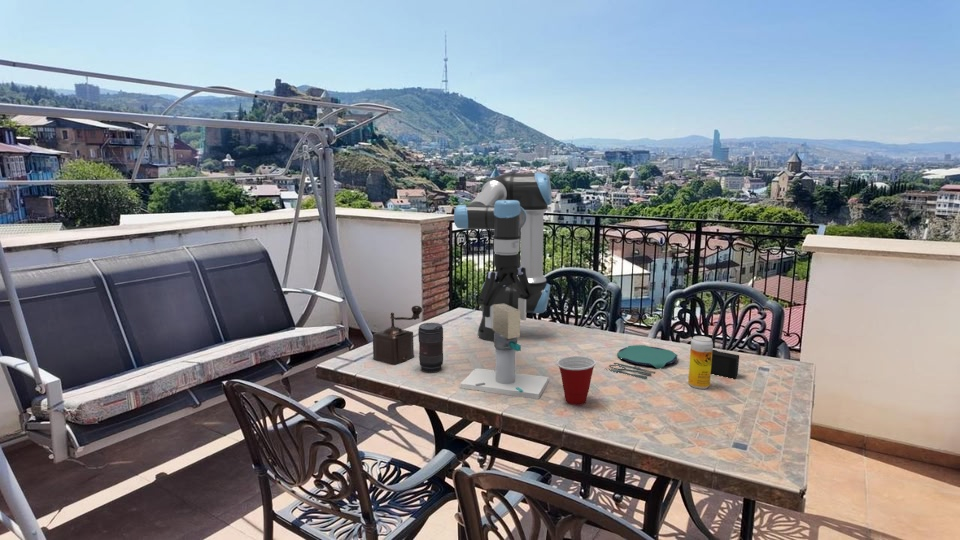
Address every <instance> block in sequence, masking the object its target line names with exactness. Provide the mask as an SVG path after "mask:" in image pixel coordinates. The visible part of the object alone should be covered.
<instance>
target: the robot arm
mask: <svg viewBox="0 0 960 540" xmlns="http://www.w3.org/2000/svg"><path fill="white" fill-rule="evenodd" d="M550 179H551V178H550V177H549V175H548V174H547V173H541V172H526V173H525V172H523V173H522V172H521V173H519V172H518V173H517V172H516V173H515V172H514V173H513V172H510V173H509V172H508V173H503V174H500V175H497V176H495V177H493V178H491V179H489V180H488V181H487V182H485V183H484V184H483V186H482V188H481V191H480V193H479V194H477V196H476V197H475V198H474V199H473V200H472V201H471V202H470V203H469V204H458V205H457V206H455V208H454V213H453V219H454V220H453V222H454V225H455V226H456V228H457V229H463V230H493V231H494V232H493V252H495V253H494V254H493V265H494V268H495V270H494V271H489V270H488V271H486V276H485V277H486V278H485V281H484V282H483V283H482V289H481V292H480V295H479V297H478V301H477V304H478V305H482V307H481V308H482V309H481V310H482V313H481V315H482V316H481V320H480V323H479V326H478V329H477V337H478V336H479V337H478V338H480V339H482V340H484V341H490V340H491V342H494V333H495V331H493V330H492V328H493V305H495V304H506V305H509V306H511V307H513V308H516V309H518V310H520V321H526V320H527V313H529V314H544V312H546V310H547V308H548V304H549V303H548V302H549V299H550V292H551V284H549V283H547V278H546V277H545V276H544V275H543V274H544V271H543V270H544V269H543V268H544V266H543V265H544V259H543V258H544V255H543V254H544V215H545V213H546V211H548V208H549V207H548V206H551V205H552V203H553V199H552V198H553V193H552V186H551V185H552V184H551V180H550ZM519 252H520V254H519Z"/></svg>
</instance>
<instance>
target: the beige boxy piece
mask: <svg viewBox="0 0 960 540" xmlns="http://www.w3.org/2000/svg"><path fill="white" fill-rule="evenodd" d="M492 330H493V331H495V333H494V341H493V347H494V348H495V349H496V348H497V349H501V350H512V349H514V350H516V352H521V350H522V349H521V348H522V344H519V343H518V338H520V337H521V320H520V310H518V309H516V308H513V307H511V306H509V305H506V304H495V305H493V328H492Z"/></svg>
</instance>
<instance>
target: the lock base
mask: <svg viewBox="0 0 960 540" xmlns="http://www.w3.org/2000/svg"><path fill="white" fill-rule="evenodd" d="M516 352H517V351H516V350H514V349H512V350H501V349H497V348H495V370H494V369H487V368H486V369H485V368H478V367H476V368H474V370H473V371H471V372H470V374H468V375H467V377H465V378H464V379H463V380H462V381H461V382H460V384H459V385H460V387H459V389H462V388H465V389H464V390H469V389H472V390H471V391H477V390H479V391H478V392H484V391H485V393H491V394H499V395H505V396H507V395H508V396H512V397H513V396H515V397H521V398H527V399H528V398H529V399H535V400H536V399H537V400H539V399H540V397H541V396H542V394H543V393H544V390H545V389H546V388H547V385H548V384H549V381H550V377H549V376H544V375H543V376H542V375H534V374H525V373H517V372H516V355H517V353H516Z"/></svg>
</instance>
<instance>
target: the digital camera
mask: <svg viewBox="0 0 960 540" xmlns="http://www.w3.org/2000/svg"><path fill="white" fill-rule="evenodd" d="M739 363H740V354H734V353H729V352H725V351H719V350H717V349H713V351H712V364H711V375H712V374H714V375H713V376H717V375H719V376H718V377H721V376H723V378H726V377H728V379H731V378H733V379H732V380H736V378H737V377H738V376H739ZM737 375H738V376H737Z"/></svg>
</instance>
